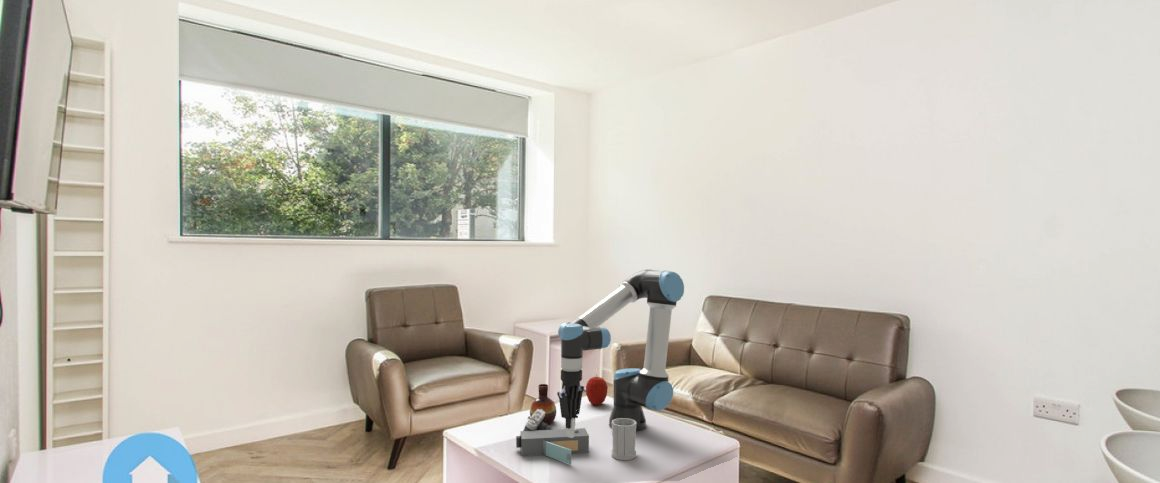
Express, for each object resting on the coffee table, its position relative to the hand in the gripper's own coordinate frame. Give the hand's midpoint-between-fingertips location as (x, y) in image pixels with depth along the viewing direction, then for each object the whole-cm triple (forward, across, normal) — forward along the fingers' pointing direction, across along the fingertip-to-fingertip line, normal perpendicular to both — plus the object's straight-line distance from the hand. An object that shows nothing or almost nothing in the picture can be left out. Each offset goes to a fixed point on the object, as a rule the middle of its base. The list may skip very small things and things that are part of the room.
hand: (570, 436), depth 193 cm
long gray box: (+8, -3, -9) cm, 12 cm away
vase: (+8, -24, -32) cm, 41 cm away
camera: (+8, -8, -22) cm, 24 cm away
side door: (+7, +4, -3) cm, 9 cm away
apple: (+7, -58, -27) cm, 65 cm away
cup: (+8, -14, +14) cm, 21 cm away
